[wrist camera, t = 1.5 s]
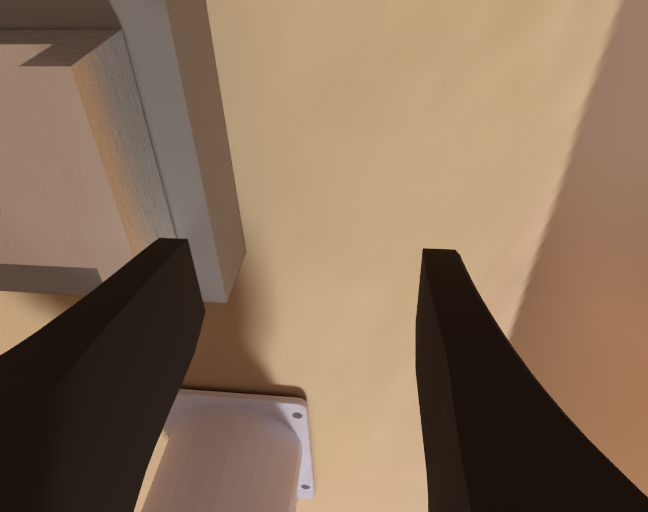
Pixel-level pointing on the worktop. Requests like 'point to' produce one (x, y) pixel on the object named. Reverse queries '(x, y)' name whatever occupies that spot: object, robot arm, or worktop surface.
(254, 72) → the worktop surface
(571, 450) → the robot arm
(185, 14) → the socket board
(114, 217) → the plate
